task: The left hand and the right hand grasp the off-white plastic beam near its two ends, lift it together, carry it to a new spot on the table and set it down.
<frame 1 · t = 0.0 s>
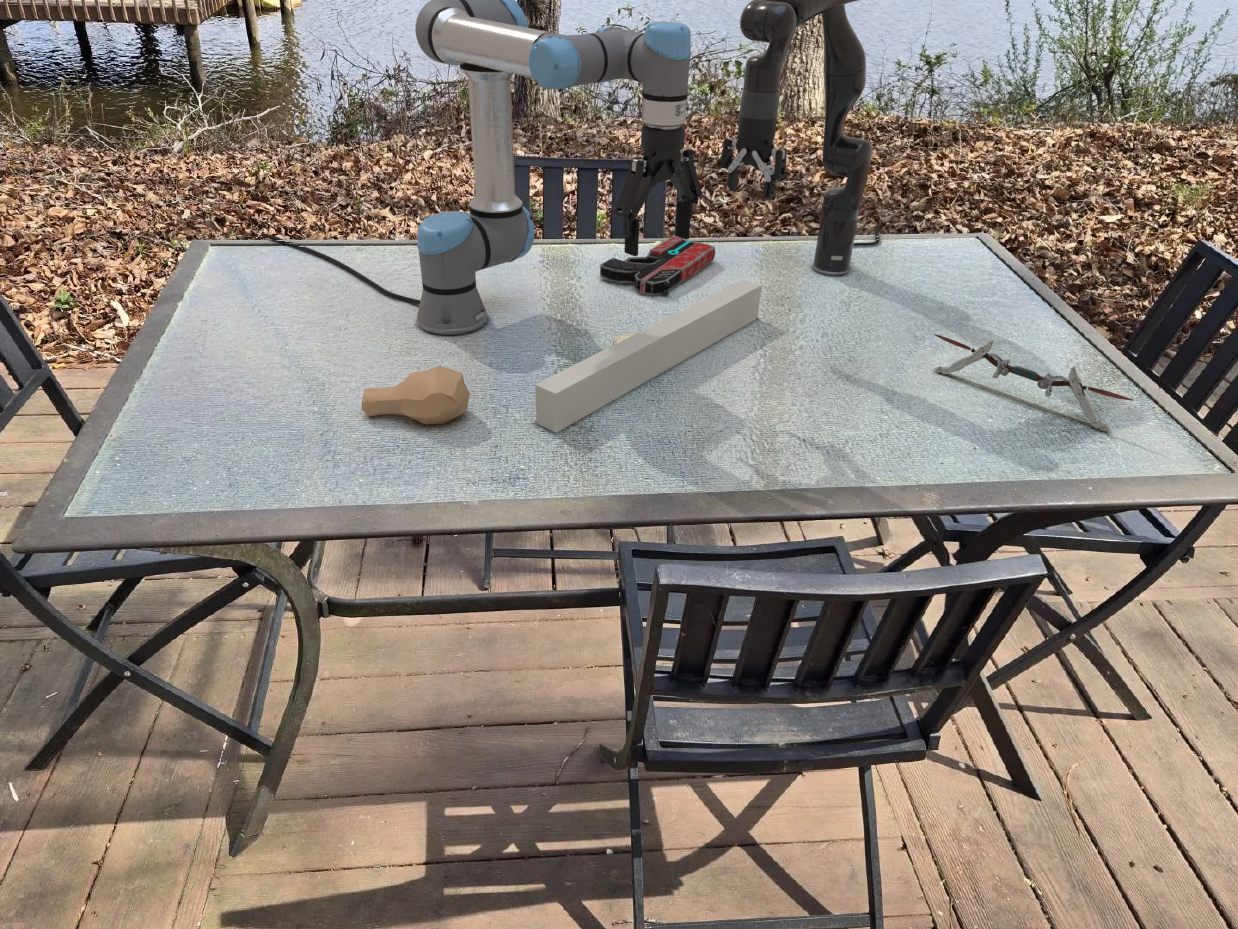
left hand: (657, 245, 161), 28 cm above the table, tool pointing down, fingers open, 13 cm apart
right hand: (749, 194, 184), 29 cm above the table, tool pointing down, fingers open, 8 cm apart
gun: (659, 272, 225), on the table
bow: (1016, 399, 173), on the table
beam: (659, 365, 182), on the table
squash: (417, 415, 163), on the table
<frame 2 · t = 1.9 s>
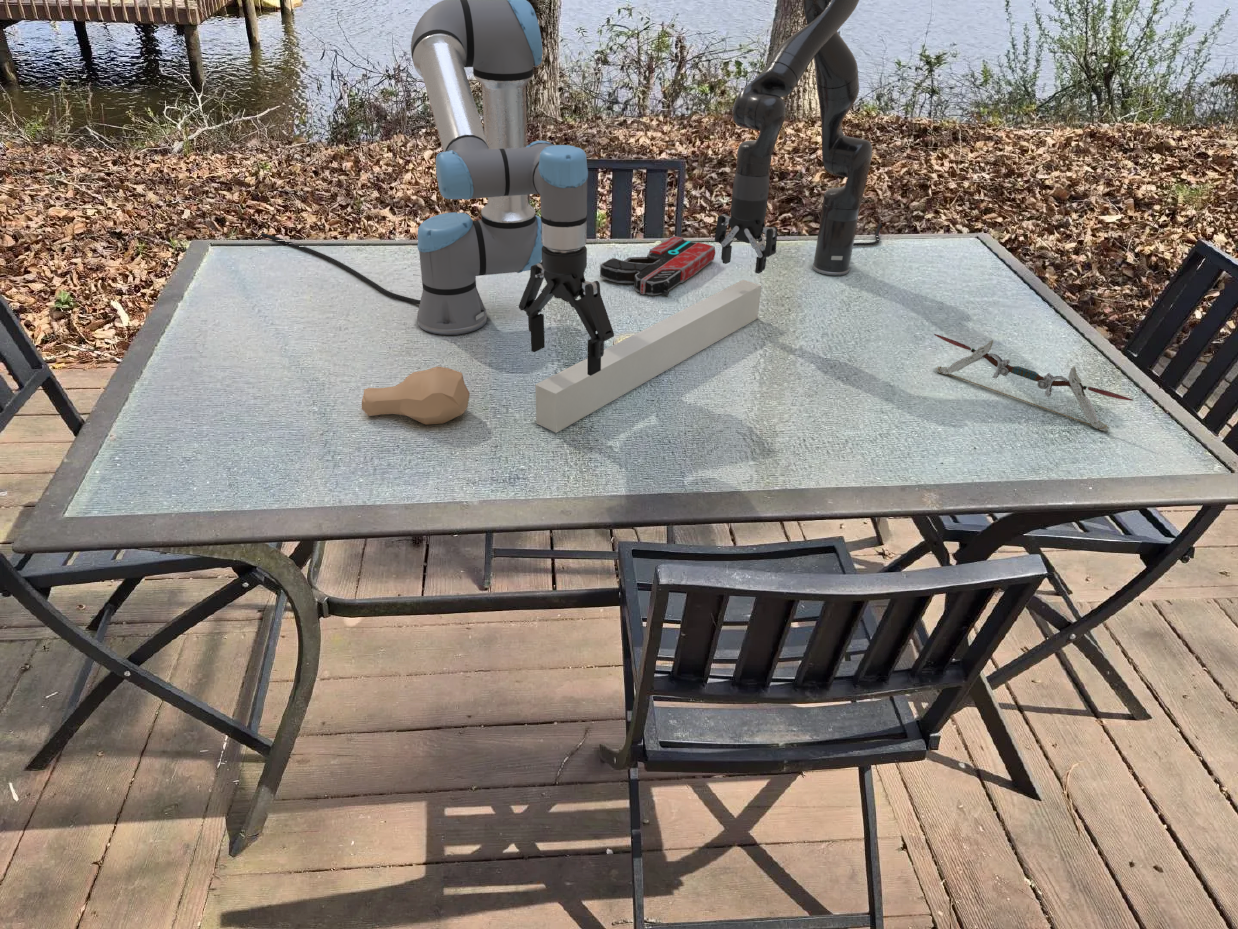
left hand: (565, 360, 157), 12 cm above the table, tool pointing down, fingers open, 13 cm apart
right hand: (742, 267, 193), 13 cm above the table, tool pointing down, fingers open, 8 cm apart
nothing on the table moved.
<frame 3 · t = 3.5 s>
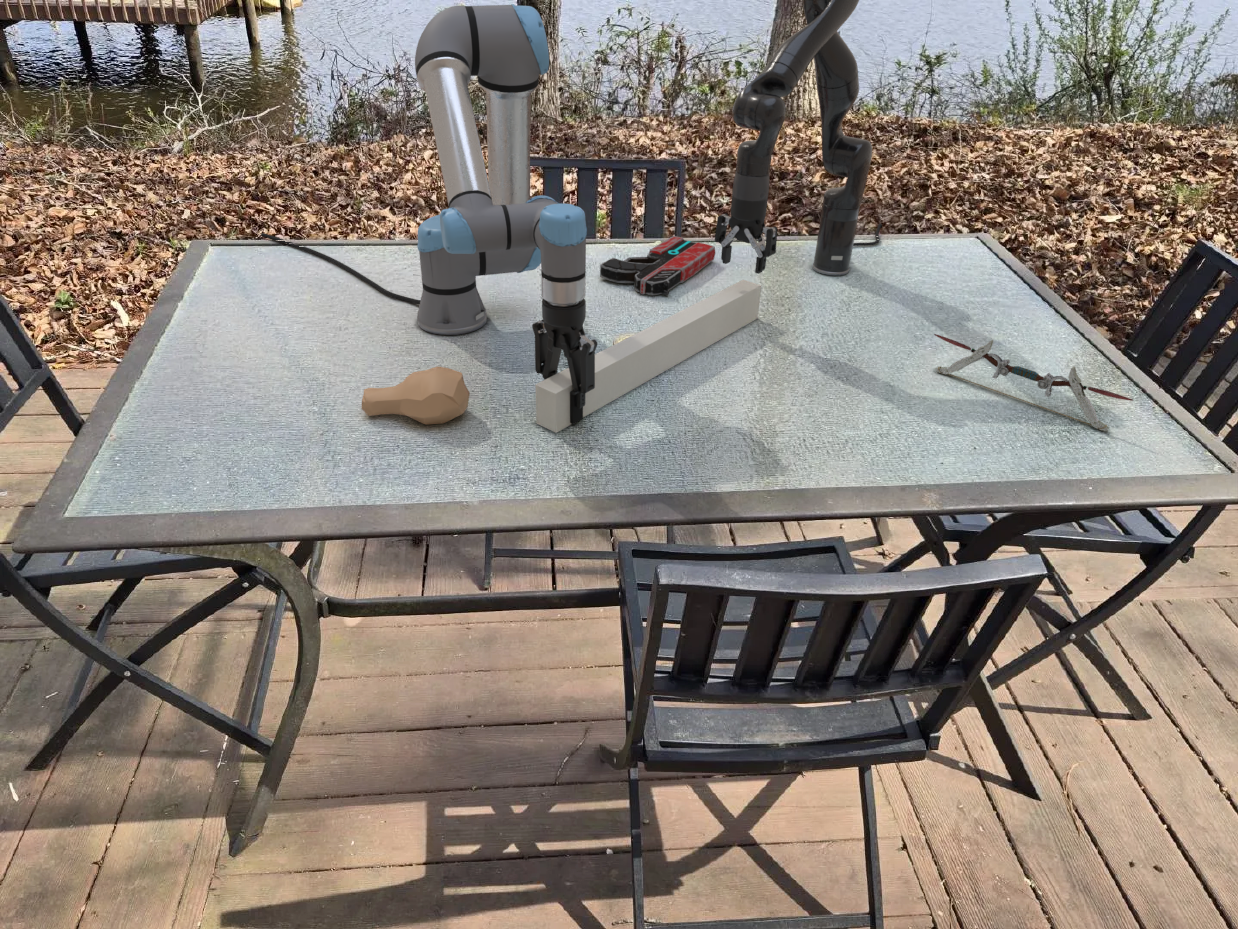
left hand: (565, 415, 163), 1 cm above the table, tool pointing down, fingers closed on beam, 5 cm apart
right hand: (742, 267, 193), 13 cm above the table, tool pointing down, fingers open, 8 cm apart
beam: (659, 365, 182), on the table, touching left hand
everything else where it was.
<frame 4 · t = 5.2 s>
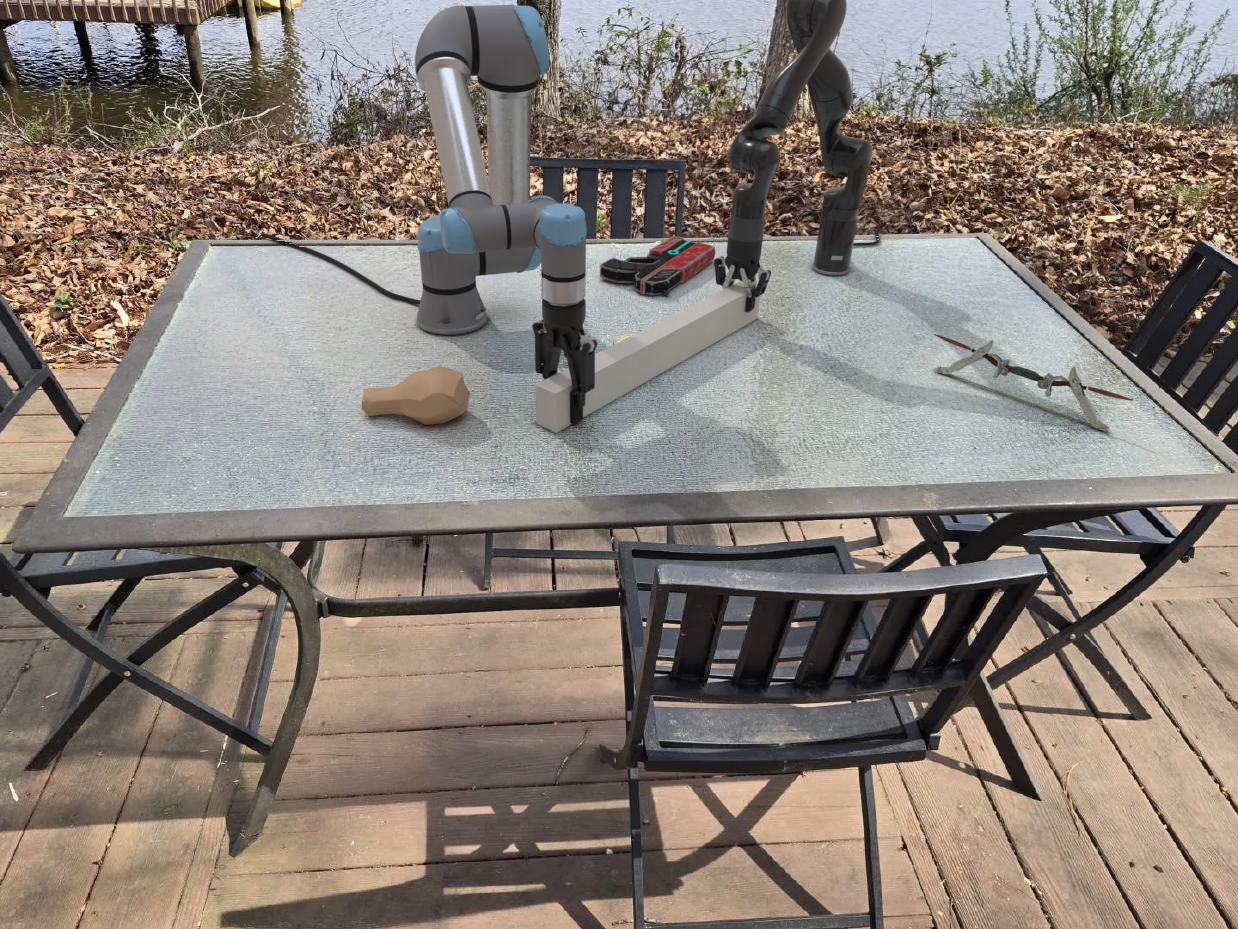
left hand: (565, 415, 163), 1 cm above the table, tool pointing down, fingers closed on beam, 5 cm apart
right hand: (737, 307, 199), 4 cm above the table, tool pointing down, fingers closed on beam, 5 cm apart
beam: (659, 365, 182), on the table, touching left hand, right hand
everything else where it was.
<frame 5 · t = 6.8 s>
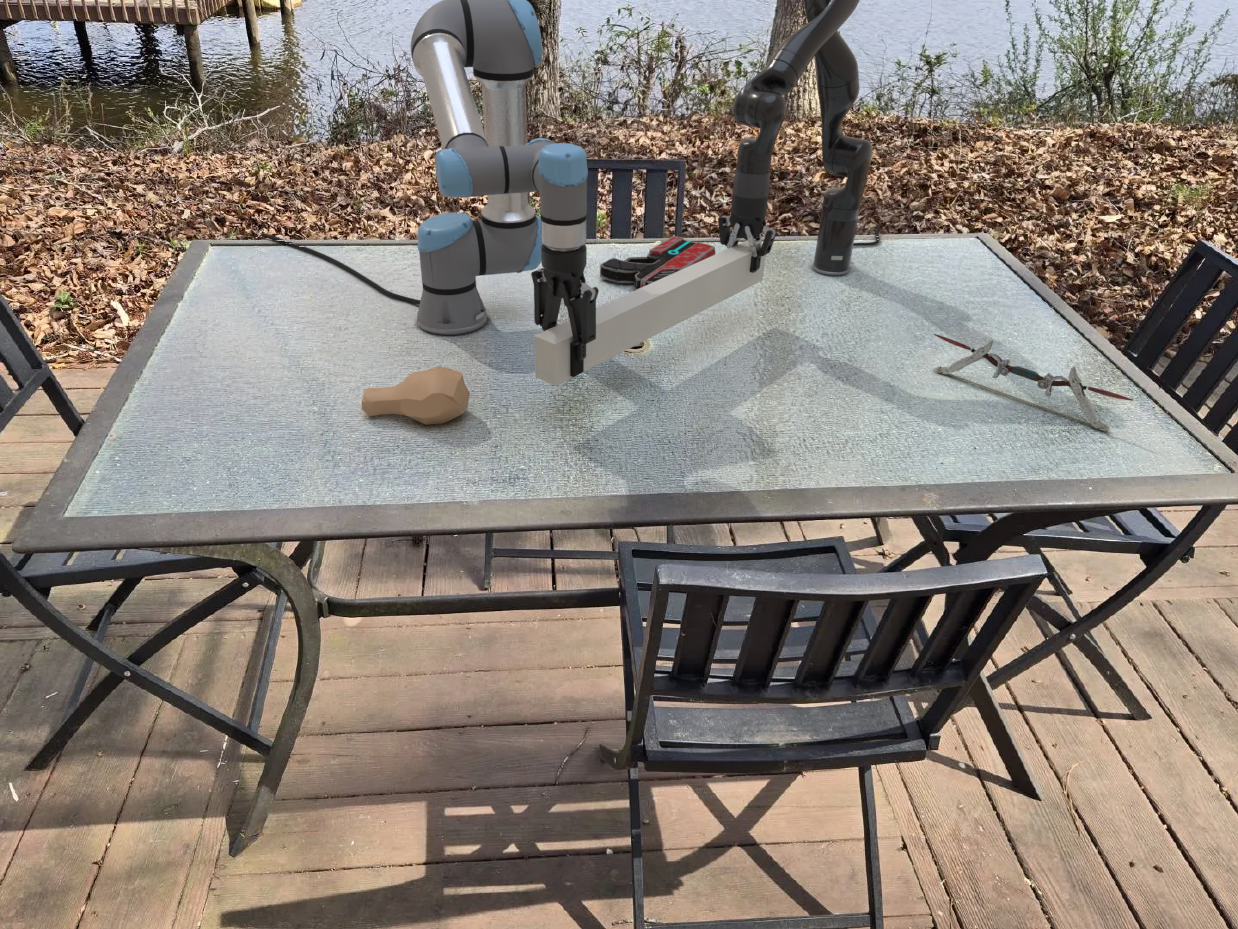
left hand: (565, 368, 158), 10 cm above the table, tool pointing down, fingers closed on beam, 5 cm apart
right hand: (742, 267, 194), 13 cm above the table, tool pointing down, fingers closed on beam, 5 cm apart
beam: (662, 323, 177), point 9 cm above the table, touching left hand, right hand
everything else where it was.
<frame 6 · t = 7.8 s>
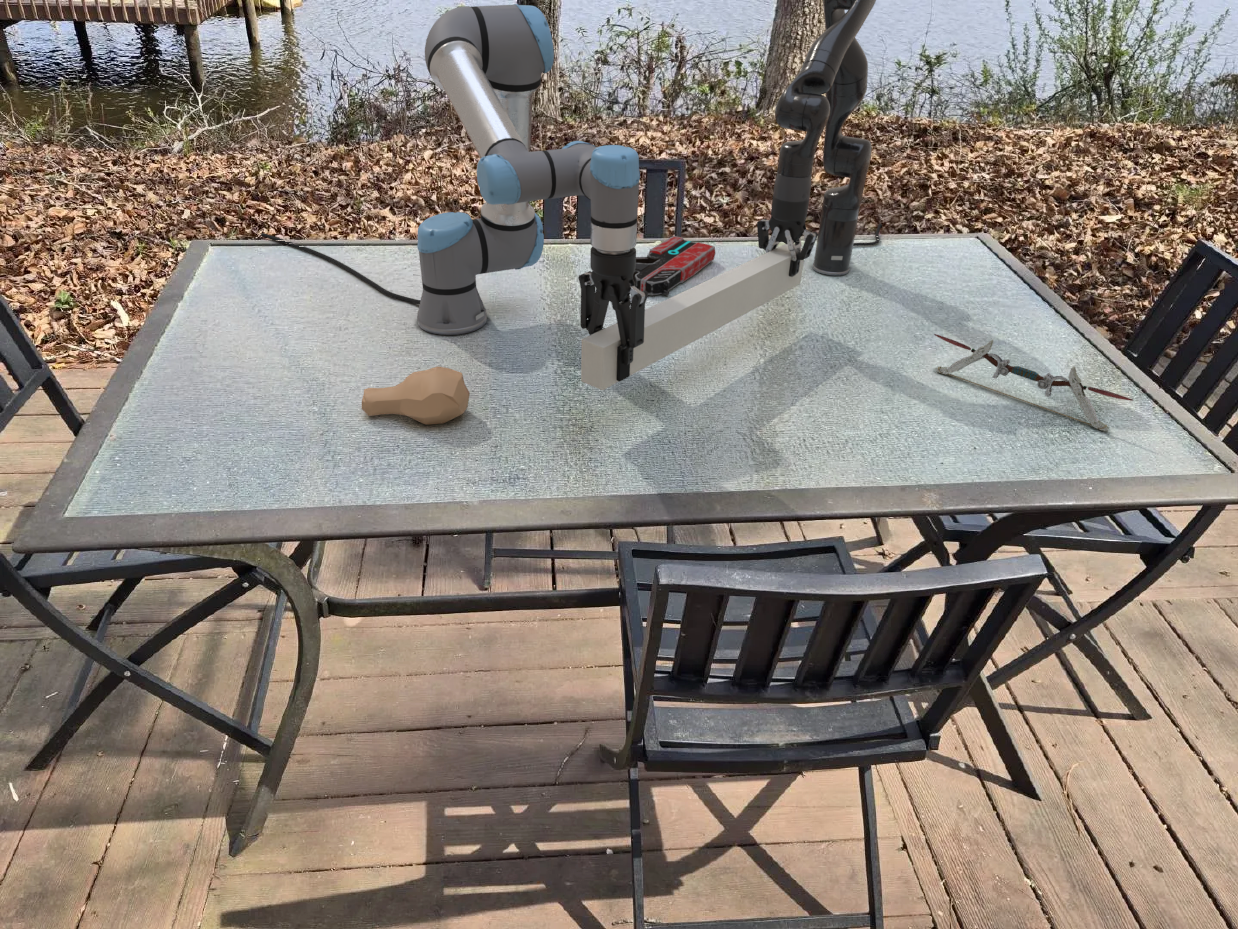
left hand: (610, 372, 156), 11 cm above the table, tool pointing down, fingers closed on beam, 5 cm apart
right hand: (781, 271, 192), 13 cm above the table, tool pointing down, fingers closed on beam, 5 cm apart
beam: (703, 327, 175), point 10 cm above the table, touching left hand, right hand
everything else where it was.
when the left hand's fingers open (2 cm above the table, at t = 10.4 s): beam stays where it is, on the table.
when the right hand's fingers open (4 cm above the table, at t = 10.6 s): beam stays where it is, on the table.
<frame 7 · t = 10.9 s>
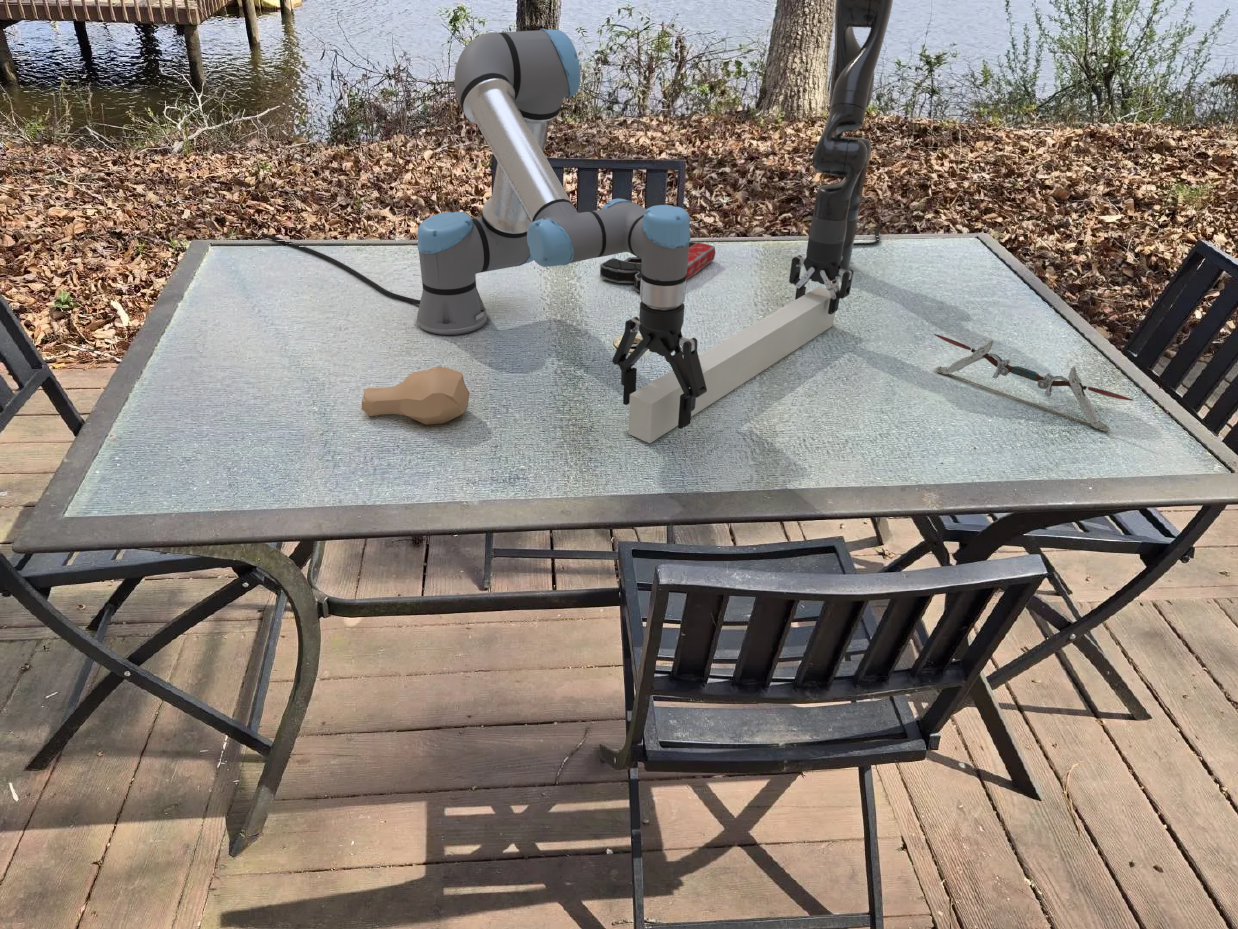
left hand: (656, 413, 159), 3 cm above the table, tool pointing down, fingers open, 12 cm apart
right hand: (815, 308, 195), 5 cm above the table, tool pointing down, fingers open, 7 cm apart
beam: (742, 373, 180), on the table
everything else where it was.
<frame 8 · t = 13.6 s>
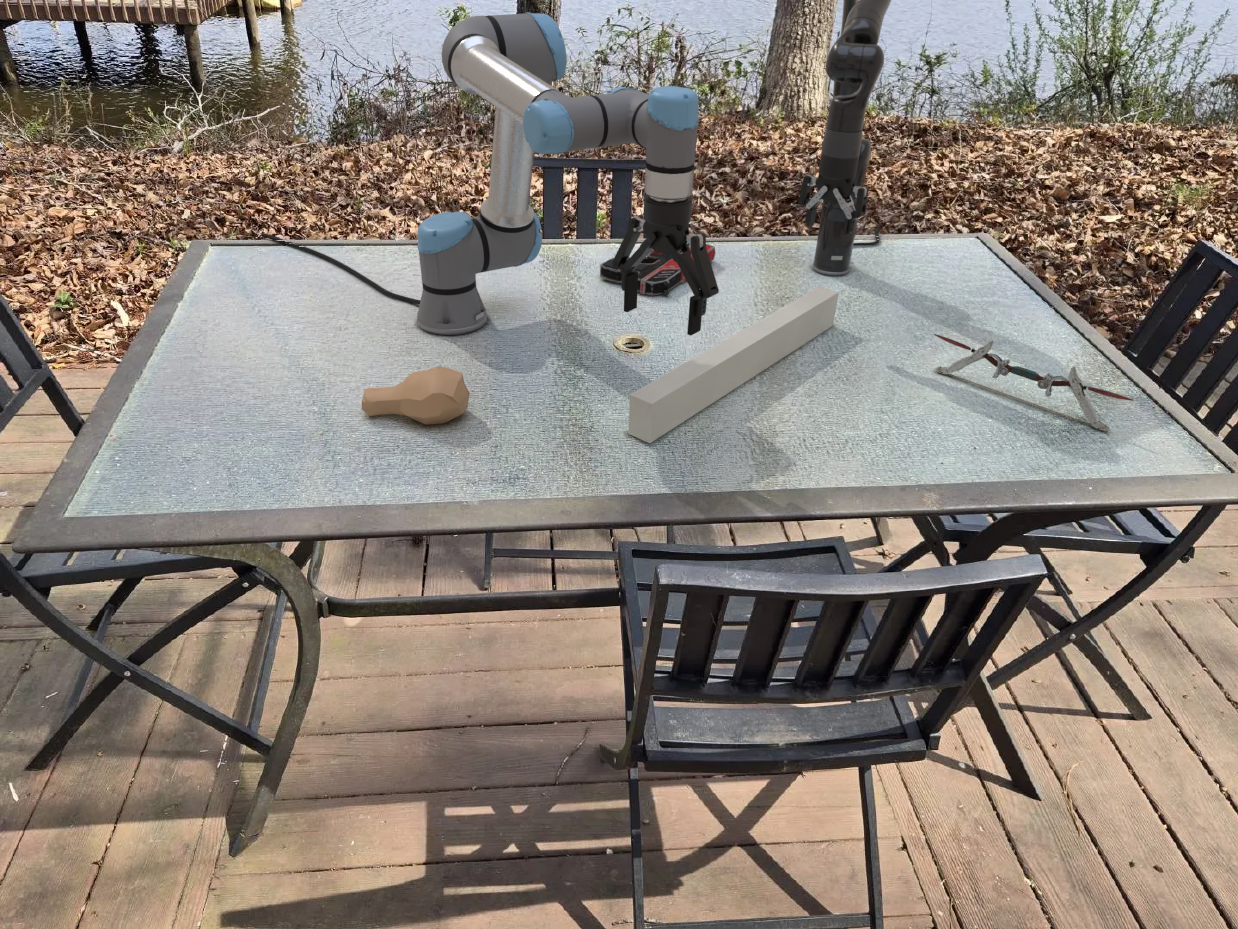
left hand: (661, 320, 149), 22 cm above the table, tool pointing down, fingers open, 13 cm apart
right hand: (827, 230, 185), 23 cm above the table, tool pointing down, fingers open, 8 cm apart
nothing on the table moved.
at the end: beam inside the target area (0.4 cm from its centre), on the table; beam tilted 0°; beam never tilted more than 1° during the clip; both hands held the beam at the same time; the left hand is holding nothing; the right hand is holding nothing; beam at rest at the end (0.0 cm/s) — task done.
